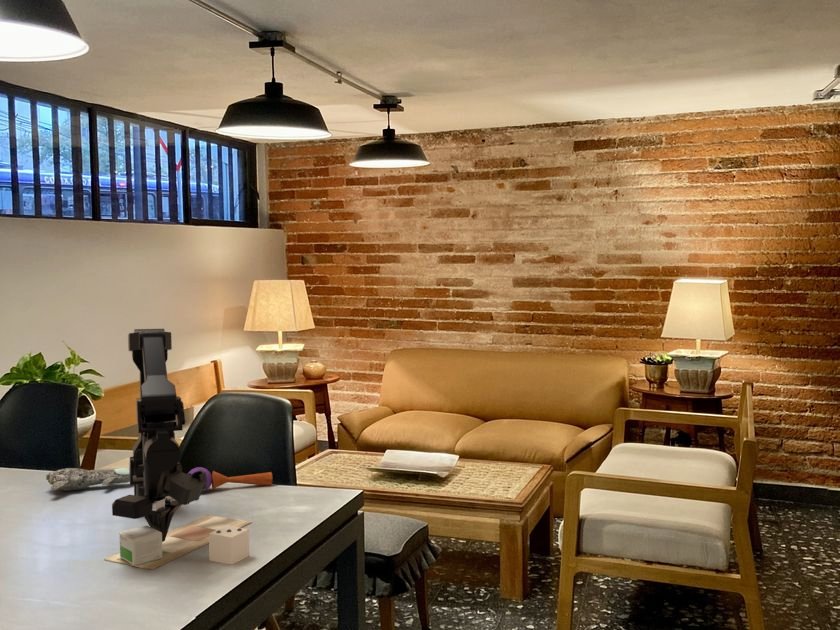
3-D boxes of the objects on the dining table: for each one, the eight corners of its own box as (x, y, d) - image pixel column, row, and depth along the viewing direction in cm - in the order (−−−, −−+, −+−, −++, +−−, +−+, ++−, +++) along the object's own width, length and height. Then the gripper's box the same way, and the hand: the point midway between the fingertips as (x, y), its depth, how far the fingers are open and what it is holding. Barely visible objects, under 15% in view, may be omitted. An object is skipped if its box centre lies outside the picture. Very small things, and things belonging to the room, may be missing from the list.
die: (209, 560, 148) (209, 531, 147) (226, 552, 152) (226, 523, 152) (232, 565, 145) (231, 535, 145) (249, 556, 150) (248, 527, 150)
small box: (118, 558, 147) (118, 531, 147) (149, 550, 151) (148, 524, 151) (133, 566, 143) (132, 539, 143) (163, 558, 147) (163, 531, 147)
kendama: (274, 472, 195) (188, 473, 188) (271, 495, 197) (185, 498, 189) (269, 462, 201) (185, 463, 193) (267, 485, 202) (183, 486, 194)
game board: (104, 560, 147) (104, 558, 147) (208, 515, 174) (208, 514, 174) (151, 569, 143) (151, 568, 143) (251, 522, 169) (251, 521, 169)
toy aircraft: (137, 494, 190) (137, 471, 190) (43, 502, 183) (42, 478, 183) (137, 477, 205) (137, 456, 205) (50, 484, 199) (49, 462, 199)
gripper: (158, 475, 140) (160, 564, 141) (226, 452, 157) (228, 532, 158) (108, 468, 144) (111, 555, 145) (180, 446, 161) (181, 524, 162)
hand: (161, 541), depth 152 cm, fingers closed
